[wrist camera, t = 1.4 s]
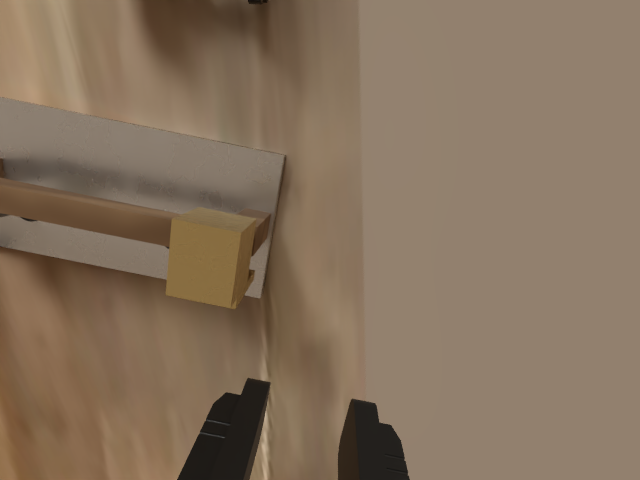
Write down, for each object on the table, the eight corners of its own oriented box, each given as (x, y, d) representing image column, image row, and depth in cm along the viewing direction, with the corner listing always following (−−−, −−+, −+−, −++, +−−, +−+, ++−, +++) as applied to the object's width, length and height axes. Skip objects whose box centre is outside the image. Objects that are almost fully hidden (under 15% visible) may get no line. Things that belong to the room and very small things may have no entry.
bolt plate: (-18, 93, 31) (-33, 90, 29) (285, 155, 31) (283, 155, 30) (-8, 239, 34) (-21, 242, 33) (262, 293, 35) (260, 298, 33)
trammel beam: (-24, 153, 31) (-153, 154, 23) (271, 212, 31) (248, 236, 23) (-20, 204, 32) (-141, 223, 24) (263, 261, 32) (239, 299, 24)
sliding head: (232, 192, 30) (171, 218, 19) (275, 201, 31) (241, 232, 19) (224, 251, 32) (164, 308, 21) (266, 260, 32) (228, 321, 21)
